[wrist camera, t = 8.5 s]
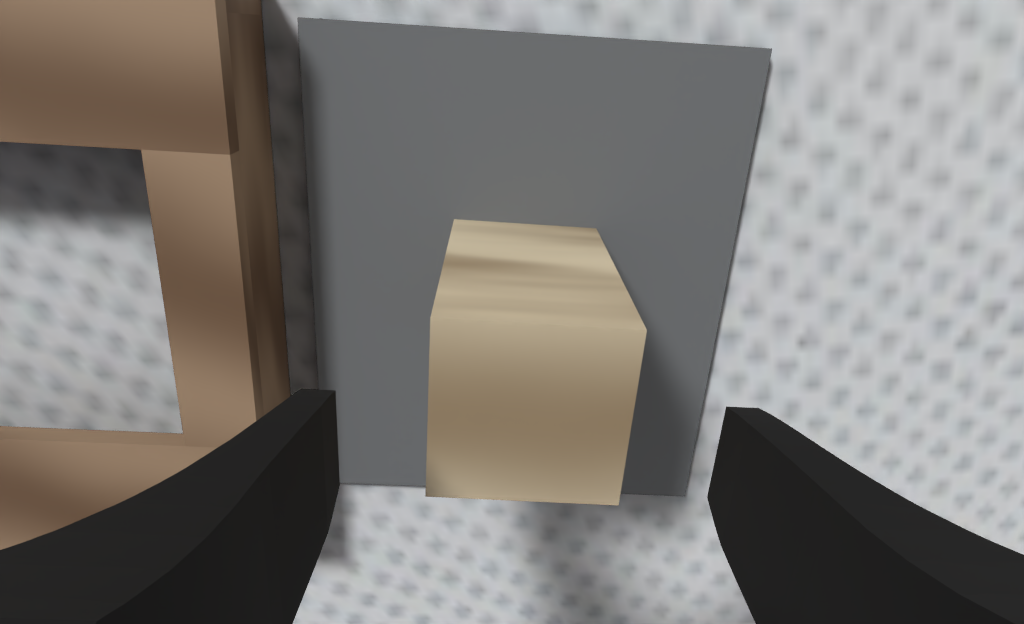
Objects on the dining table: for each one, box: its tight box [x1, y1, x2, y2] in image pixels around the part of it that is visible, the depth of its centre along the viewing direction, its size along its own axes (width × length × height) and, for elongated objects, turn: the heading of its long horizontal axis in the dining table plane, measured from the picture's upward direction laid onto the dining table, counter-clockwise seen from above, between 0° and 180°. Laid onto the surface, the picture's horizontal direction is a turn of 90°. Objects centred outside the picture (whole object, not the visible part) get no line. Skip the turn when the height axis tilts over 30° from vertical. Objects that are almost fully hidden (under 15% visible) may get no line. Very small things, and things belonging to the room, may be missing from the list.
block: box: [426, 219, 647, 505], centre depth 16 cm, size 4×4×7 cm
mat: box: [298, 18, 772, 496], centre depth 20 cm, size 14×12×1 cm
